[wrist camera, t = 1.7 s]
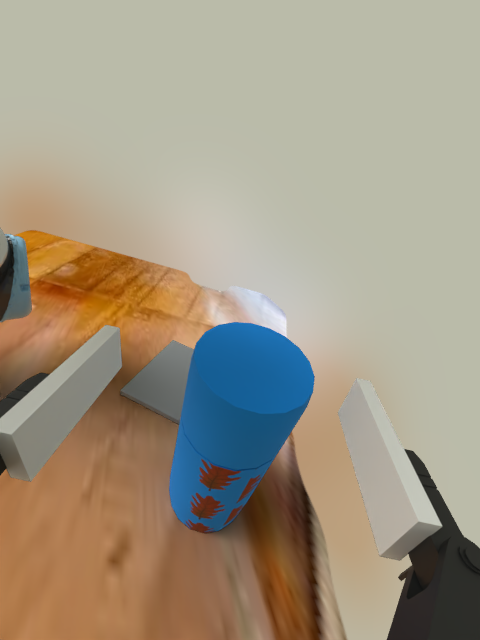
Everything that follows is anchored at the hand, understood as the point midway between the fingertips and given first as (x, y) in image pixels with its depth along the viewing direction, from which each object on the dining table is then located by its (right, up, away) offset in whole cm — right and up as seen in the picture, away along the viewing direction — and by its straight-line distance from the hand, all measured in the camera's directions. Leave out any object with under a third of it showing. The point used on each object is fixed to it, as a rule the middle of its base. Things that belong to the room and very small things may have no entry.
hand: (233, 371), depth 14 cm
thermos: (-4, -21, +22) cm, 30 cm away
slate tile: (-10, -9, +35) cm, 37 cm away
